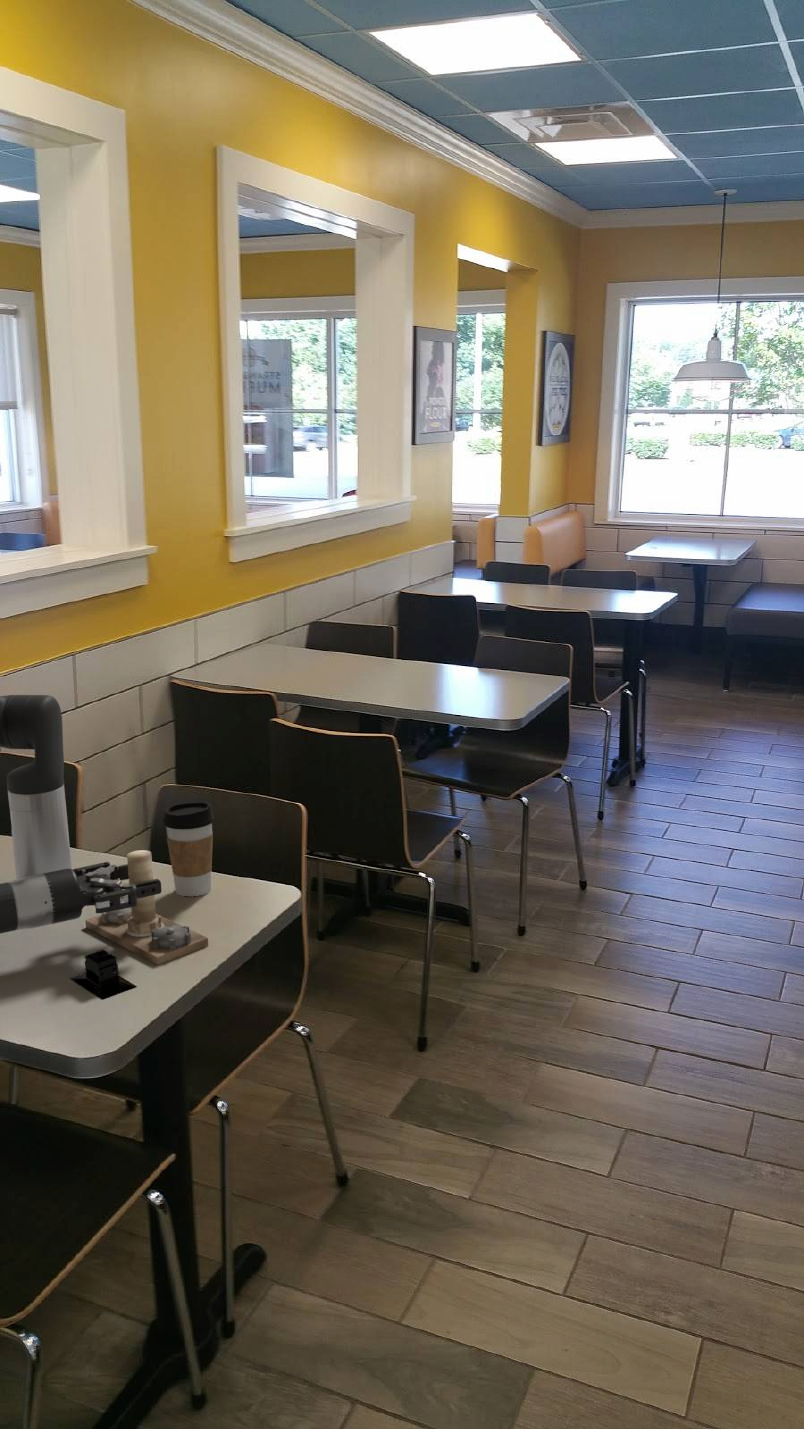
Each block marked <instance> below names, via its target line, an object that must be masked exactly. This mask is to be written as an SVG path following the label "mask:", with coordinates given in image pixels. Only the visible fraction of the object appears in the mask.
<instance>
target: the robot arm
mask: <svg viewBox="0 0 804 1429" xmlns="http://www.w3.org/2000/svg"><path fill="white" fill-rule="evenodd" d="M63 732H64V730H63V716H62V709H61V706H60V704H59V701H58V699H57V698H55V697H54V696H52V695H47V694H11V695H10V694H9V695H1V696H0V748H3V749H8V750H34V760H33V761H32V762H29V763H27V764H24V765H21V766H19V767H16V768H14V769H12V770H11V771H10V772H8V773H7V776H6V787H7V795H8V805H9V813H10V823H11V837H12V846H13V847H12V850H13V860H14V867H15V879H14V880H12V881H7V882H3V883H0V934H5V933H10V932H14V931H16V930H17V931H19V930H28V929H36V928H40V927H44V926H49V925H55V924H58V923H63V922H67V921H72V920H77V919H79V918H80V917H81V916H82V914H83V909H84V907H86V906H87V907H88V906H94V907H95V913H96V914H102V913H105V912H110V911H115V910H120V909H125V908H130V907H135V906H137V899H138V898H143V897H147V896H152V895H154V896H156V895H160V894H162V882H161V880H160V879H159V878H153V880H148V881H143V882H139V883H135V884H129V883H127V882H126V883H124V882H123V881H126V880H129V874H128V863H127V864H121V865H117V864H111V863H110V862H109V861H104V862H99V863H95V864H90V865H86V866H82V867H77V868H74V869H72V860H71V859H72V858H71V857H72V856H71V848H70V837H69V824H68V815H67V814H68V813H67V805H66V804H67V803H66V802H67V801H66V793H65V792H66V790H65V780H64V768H65V755H64V733H63ZM121 902H124V903H121Z"/></svg>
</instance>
